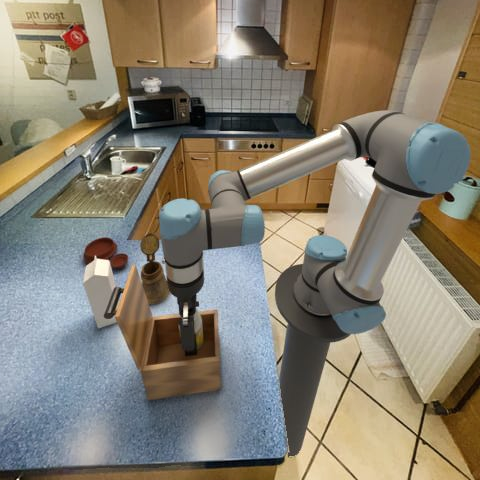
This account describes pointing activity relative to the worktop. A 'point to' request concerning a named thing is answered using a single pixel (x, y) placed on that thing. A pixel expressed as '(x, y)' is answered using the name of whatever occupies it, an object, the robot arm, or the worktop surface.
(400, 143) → the robot arm
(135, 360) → the chest lid
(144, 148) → the worktop surface
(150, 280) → the wooden mug
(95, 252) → the pottery
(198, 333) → the supplement bottle
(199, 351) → the chest
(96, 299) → the milk
